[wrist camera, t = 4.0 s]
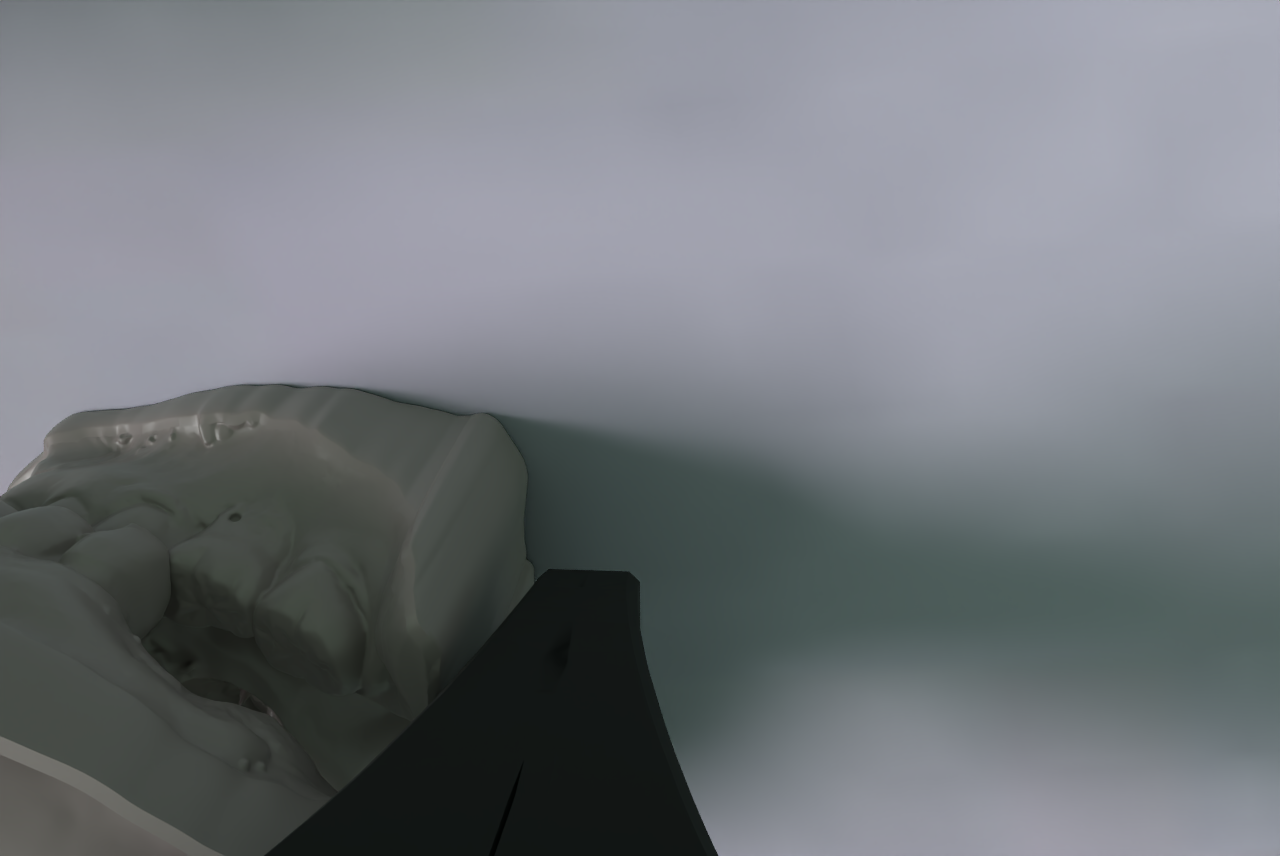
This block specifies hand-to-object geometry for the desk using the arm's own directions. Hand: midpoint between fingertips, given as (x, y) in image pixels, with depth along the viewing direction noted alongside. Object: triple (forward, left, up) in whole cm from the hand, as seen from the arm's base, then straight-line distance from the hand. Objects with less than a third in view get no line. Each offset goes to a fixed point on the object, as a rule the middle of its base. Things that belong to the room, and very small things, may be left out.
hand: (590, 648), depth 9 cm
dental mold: (0, +5, -2) cm, 5 cm away
